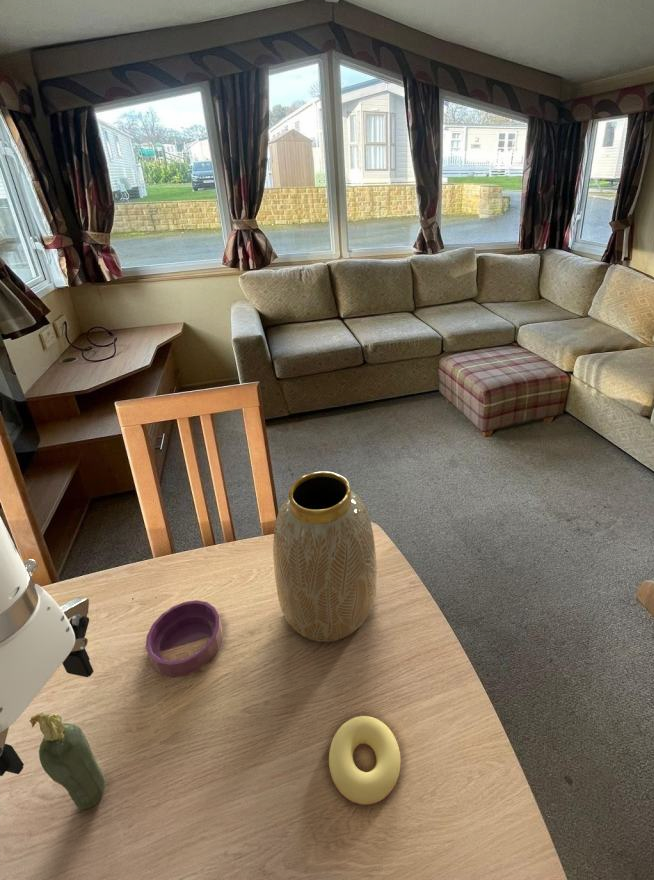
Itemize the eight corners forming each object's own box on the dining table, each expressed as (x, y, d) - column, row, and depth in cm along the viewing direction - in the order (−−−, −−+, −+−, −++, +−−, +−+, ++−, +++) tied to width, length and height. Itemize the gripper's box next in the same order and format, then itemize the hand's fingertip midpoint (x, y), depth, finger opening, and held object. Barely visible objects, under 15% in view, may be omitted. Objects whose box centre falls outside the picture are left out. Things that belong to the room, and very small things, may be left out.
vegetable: (121, 790, 63) (77, 698, 54) (98, 832, 59) (47, 741, 51) (91, 783, 64) (43, 691, 55) (66, 824, 60) (10, 733, 51)
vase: (350, 556, 98) (344, 446, 86) (395, 622, 84) (395, 503, 73) (267, 594, 90) (248, 479, 78) (303, 674, 76) (287, 549, 65)
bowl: (149, 693, 74) (142, 675, 72) (155, 628, 84) (149, 611, 82) (225, 669, 77) (220, 651, 75) (222, 609, 87) (218, 592, 85)
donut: (377, 724, 72) (318, 752, 67) (379, 699, 71) (318, 726, 66) (412, 790, 63) (347, 827, 59) (414, 763, 62) (348, 798, 58)
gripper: (31, 537, 54) (77, 637, 61) (-150, 698, 38) (-59, 806, 46) (89, 546, 52) (129, 647, 60) (-74, 717, 37) (7, 824, 45)
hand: (48, 716), depth 53 cm, fingers open, 9 cm apart
